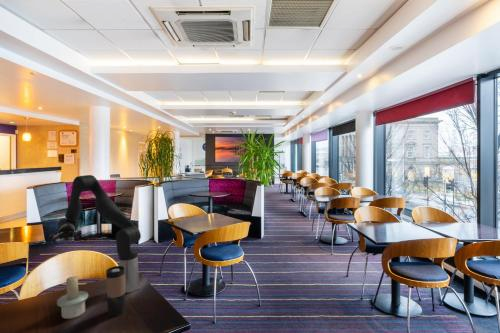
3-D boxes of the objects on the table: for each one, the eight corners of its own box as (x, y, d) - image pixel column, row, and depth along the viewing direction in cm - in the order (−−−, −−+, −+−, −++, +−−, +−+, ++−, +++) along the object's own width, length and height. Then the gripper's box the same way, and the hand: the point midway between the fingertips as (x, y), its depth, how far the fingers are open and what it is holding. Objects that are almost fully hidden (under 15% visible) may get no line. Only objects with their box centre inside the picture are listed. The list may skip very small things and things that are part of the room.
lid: (88, 290, 133) (87, 270, 133) (88, 302, 123) (87, 280, 123) (58, 297, 127) (57, 276, 127) (55, 310, 117) (54, 287, 116)
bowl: (85, 305, 132) (84, 292, 131) (85, 314, 124) (84, 301, 124) (62, 310, 127) (61, 298, 127) (61, 320, 119) (60, 307, 119)
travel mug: (129, 307, 129) (127, 266, 128) (120, 317, 122) (118, 273, 121) (114, 306, 130) (112, 265, 129) (103, 316, 122) (102, 272, 121)
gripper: (50, 227, 148) (47, 234, 134) (81, 223, 155) (81, 229, 141) (51, 240, 148) (48, 249, 134) (82, 236, 155) (82, 244, 142)
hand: (65, 239), depth 138 cm, fingers open, 8 cm apart
